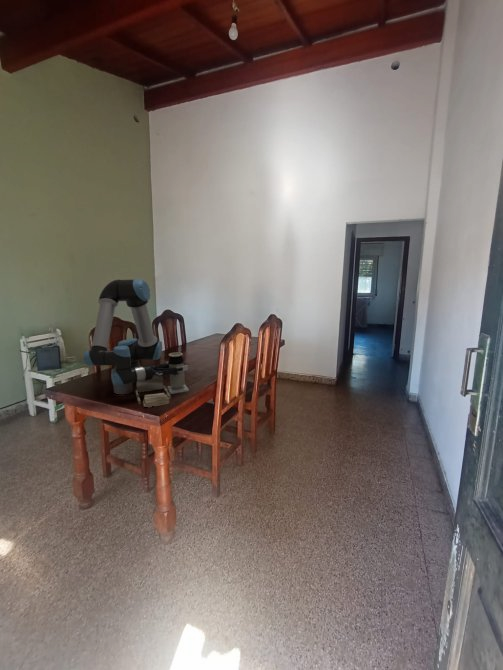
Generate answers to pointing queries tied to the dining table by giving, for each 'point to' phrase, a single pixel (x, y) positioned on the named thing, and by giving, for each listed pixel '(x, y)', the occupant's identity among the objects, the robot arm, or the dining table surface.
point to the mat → (177, 389)
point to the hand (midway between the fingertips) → (184, 365)
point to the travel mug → (178, 378)
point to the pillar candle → (122, 387)
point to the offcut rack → (151, 385)
